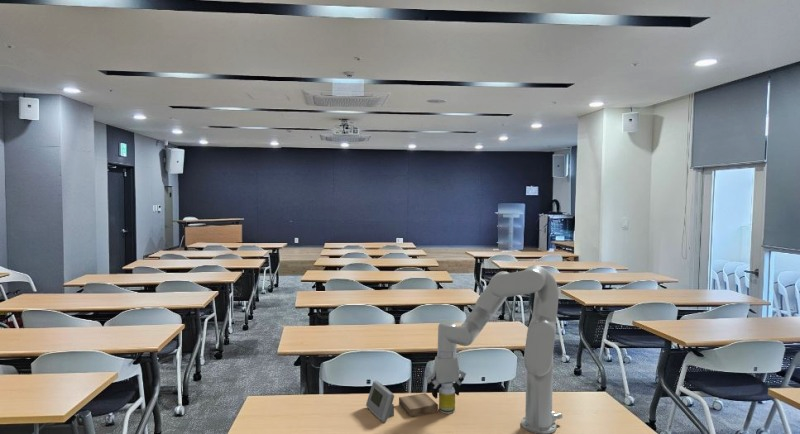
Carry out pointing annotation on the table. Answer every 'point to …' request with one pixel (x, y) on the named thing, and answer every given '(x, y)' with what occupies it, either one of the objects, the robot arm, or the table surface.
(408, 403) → the walnut block
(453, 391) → the pill bottle
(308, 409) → the table surface
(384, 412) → the digital clock
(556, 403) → the table surface
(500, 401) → the table surface
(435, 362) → the robot arm
